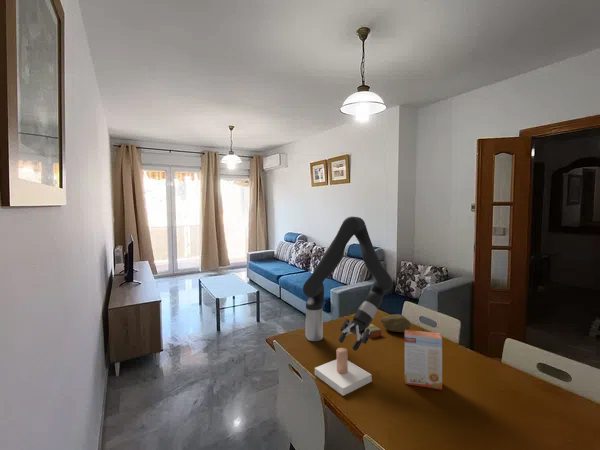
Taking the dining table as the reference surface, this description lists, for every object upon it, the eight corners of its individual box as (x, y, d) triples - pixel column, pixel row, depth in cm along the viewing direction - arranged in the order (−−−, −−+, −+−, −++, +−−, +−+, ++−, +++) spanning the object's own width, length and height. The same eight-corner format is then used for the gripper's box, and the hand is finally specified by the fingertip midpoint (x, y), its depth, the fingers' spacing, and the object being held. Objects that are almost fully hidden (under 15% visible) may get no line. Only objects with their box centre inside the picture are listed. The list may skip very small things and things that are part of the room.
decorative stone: (377, 331, 172) (377, 314, 171) (383, 325, 181) (383, 309, 181) (407, 338, 162) (407, 320, 162) (412, 331, 172) (412, 314, 171)
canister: (334, 370, 126) (334, 349, 126) (342, 366, 129) (342, 346, 128) (342, 375, 122) (341, 354, 122) (350, 371, 125) (349, 350, 124)
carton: (365, 326, 181) (365, 319, 181) (381, 336, 166) (381, 329, 166) (353, 328, 178) (353, 321, 177) (369, 339, 163) (369, 331, 163)
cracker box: (440, 382, 122) (440, 332, 120) (442, 390, 116) (442, 338, 115) (404, 376, 126) (404, 328, 125) (404, 384, 120) (404, 334, 119)
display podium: (314, 374, 128) (314, 367, 128) (341, 363, 137) (341, 356, 137) (343, 395, 114) (342, 388, 113) (371, 381, 123) (371, 374, 122)
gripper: (350, 305, 136) (331, 335, 131) (373, 314, 125) (354, 347, 119) (358, 313, 140) (340, 343, 134) (382, 323, 128) (363, 356, 122)
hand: (346, 345), depth 126 cm, fingers open, 8 cm apart
